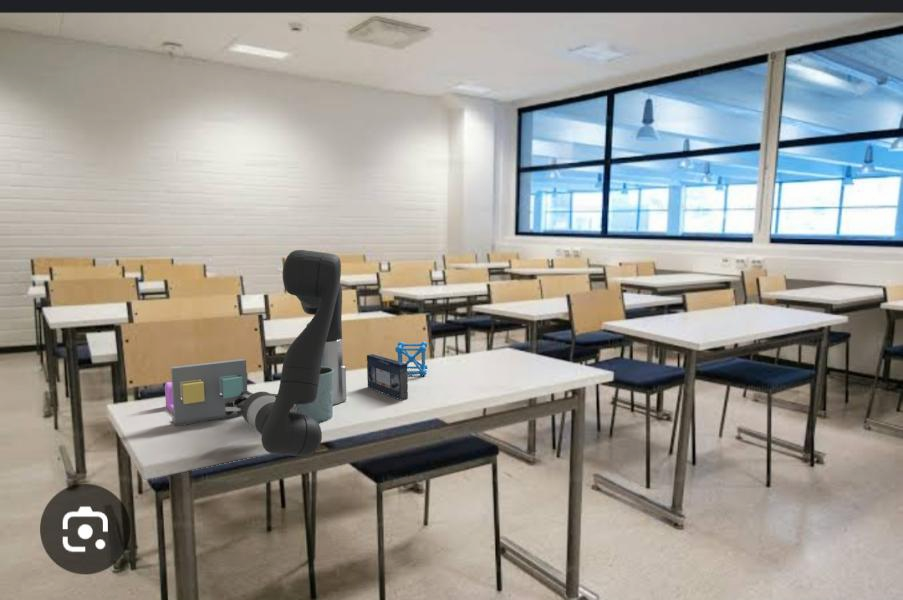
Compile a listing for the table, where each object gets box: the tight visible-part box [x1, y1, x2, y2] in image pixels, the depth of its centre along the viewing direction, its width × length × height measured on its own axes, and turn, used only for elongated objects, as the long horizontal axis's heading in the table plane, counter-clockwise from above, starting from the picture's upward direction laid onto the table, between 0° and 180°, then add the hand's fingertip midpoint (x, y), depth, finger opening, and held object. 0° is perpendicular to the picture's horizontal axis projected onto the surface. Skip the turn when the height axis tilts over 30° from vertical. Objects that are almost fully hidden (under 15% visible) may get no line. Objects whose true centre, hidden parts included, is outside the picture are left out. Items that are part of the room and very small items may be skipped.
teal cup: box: [295, 366, 334, 423], centre depth 148 cm, size 10×10×12 cm
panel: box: [170, 358, 248, 427], centre depth 148 cm, size 17×5×14 cm, turn 123°
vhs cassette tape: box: [366, 353, 409, 400], centre depth 171 cm, size 18×3×10 cm, turn 37°
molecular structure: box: [394, 341, 428, 376], centre depth 195 cm, size 10×10×10 cm
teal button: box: [220, 375, 243, 398], centre depth 149 cm, size 5×6×5 cm
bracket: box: [164, 381, 183, 414], centre depth 155 cm, size 13×6×7 cm, turn 39°
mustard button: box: [180, 380, 205, 404], centre depth 144 cm, size 5×6×5 cm
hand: (244, 395), depth 137 cm, fingers closed
